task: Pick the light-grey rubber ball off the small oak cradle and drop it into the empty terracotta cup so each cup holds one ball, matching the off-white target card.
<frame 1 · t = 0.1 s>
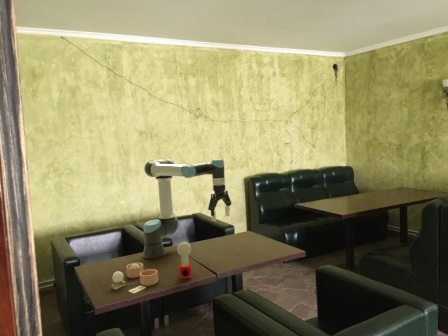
hand: (220, 218, 228), 28 cm above the table, fingers open, 13 cm apart
ball grey: (118, 277, 201), point 6 cm above the table, touching cradle
target card: (137, 289, 197), on the table
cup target: (149, 282, 206), on the table
ball sage: (134, 268, 218), point 4 cm above the table, touching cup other
toy: (186, 276, 212), on the table
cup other: (135, 274, 218), on the table
cradle: (118, 286, 202), on the table
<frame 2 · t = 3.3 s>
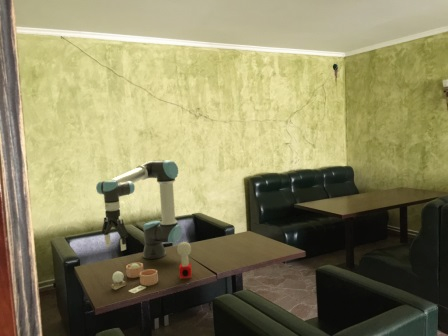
hand: (115, 248, 199), 22 cm above the table, fingers open, 13 cm apart
nothing on the table moved.
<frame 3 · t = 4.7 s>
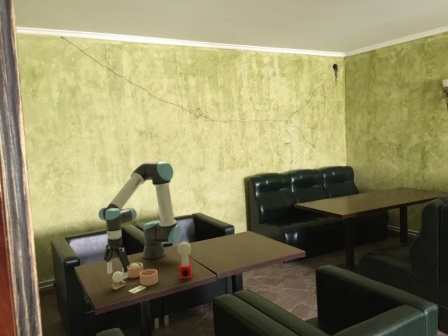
hand: (117, 275, 201), 6 cm above the table, fingers open, 13 cm apart
nothing on the table moved.
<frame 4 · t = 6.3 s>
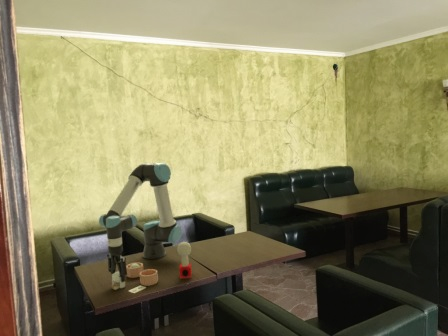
hand: (118, 285, 202), 0 cm above the table, fingers closed on ball grey, 6 cm apart
ball grey: (118, 277, 201), point 6 cm above the table, touching cradle, gripper
everything else where it was.
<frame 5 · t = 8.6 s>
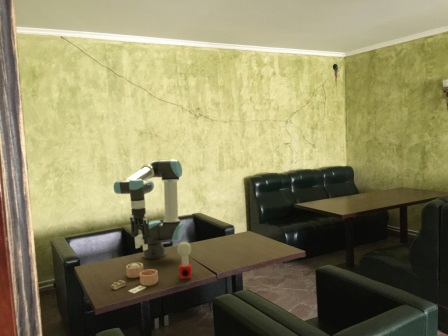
hand: (141, 248, 203), 20 cm above the table, fingers closed on ball grey, 6 cm apart
ball grey: (140, 239, 203), point 25 cm above the table, touching gripper
everything else where it was.
when the fingers open (6 cm above the table, at t = 11.0 s): ball grey drops 8 cm, resting on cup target.
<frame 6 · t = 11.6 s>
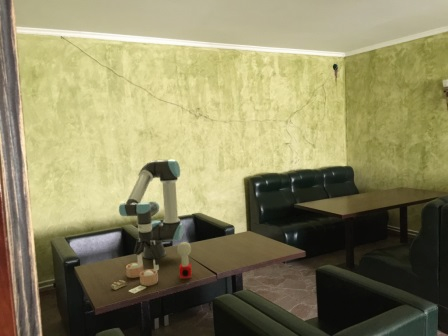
hand: (148, 268, 205), 8 cm above the table, fingers open, 13 cm apart
ball grey: (148, 276, 205), point 4 cm above the table, touching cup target
everything else where it was.
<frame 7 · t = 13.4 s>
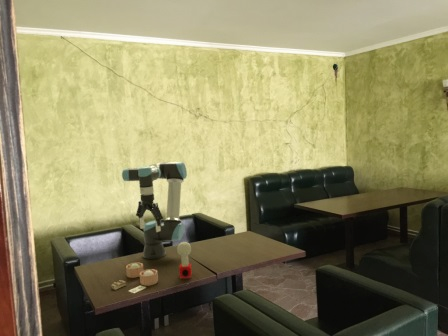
hand: (150, 229, 213), 27 cm above the table, fingers open, 13 cm apart
nothing on the table moved.
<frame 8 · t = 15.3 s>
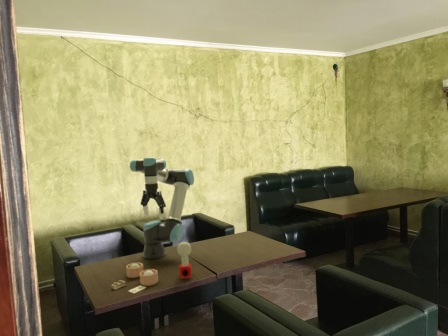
hand: (153, 217, 223), 32 cm above the table, fingers open, 13 cm apart
nothing on the table moved.
at the end: ball grey 0.1 cm off-centre on the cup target, point 3.6 cm above the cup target's base; the gripper is holding nothing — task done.
